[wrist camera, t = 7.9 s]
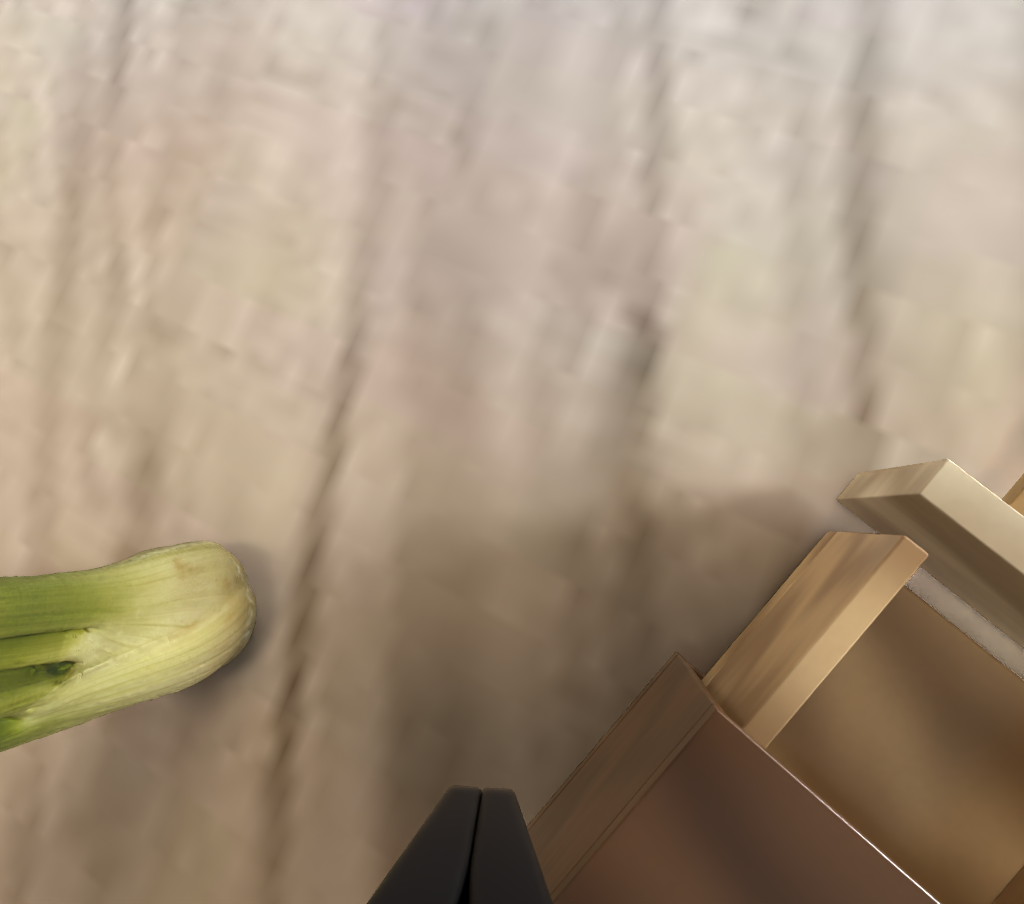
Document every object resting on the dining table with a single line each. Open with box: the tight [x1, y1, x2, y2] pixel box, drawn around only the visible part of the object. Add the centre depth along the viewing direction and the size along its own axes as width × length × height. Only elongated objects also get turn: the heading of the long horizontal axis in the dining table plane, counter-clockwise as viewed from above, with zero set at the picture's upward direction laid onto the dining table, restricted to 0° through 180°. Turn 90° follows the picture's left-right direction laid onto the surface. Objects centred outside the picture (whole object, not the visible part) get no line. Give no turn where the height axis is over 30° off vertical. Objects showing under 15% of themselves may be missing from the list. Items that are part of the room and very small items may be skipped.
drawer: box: [701, 459, 1024, 904], centre depth 19 cm, size 19×12×6 cm, turn 139°
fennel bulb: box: [0, 541, 256, 752], centre depth 19 cm, size 6×5×12 cm
